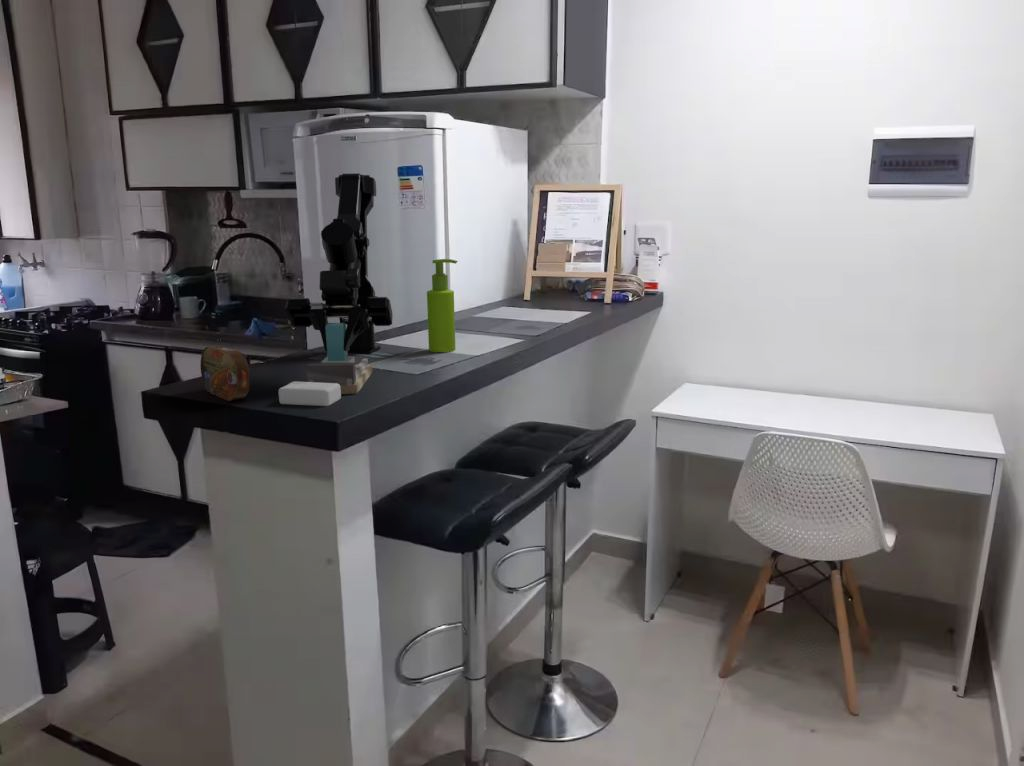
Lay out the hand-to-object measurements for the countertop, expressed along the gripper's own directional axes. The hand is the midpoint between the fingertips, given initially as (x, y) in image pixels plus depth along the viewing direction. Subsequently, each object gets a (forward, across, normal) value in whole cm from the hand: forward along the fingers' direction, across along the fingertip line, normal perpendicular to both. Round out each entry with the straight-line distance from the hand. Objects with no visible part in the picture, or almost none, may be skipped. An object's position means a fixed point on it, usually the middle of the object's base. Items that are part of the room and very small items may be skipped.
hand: (335, 349), depth 136 cm
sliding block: (+3, 0, +5) cm, 5 cm away
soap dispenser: (-18, +17, +28) cm, 37 cm away
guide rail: (+3, 0, +6) cm, 7 cm away
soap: (+12, -2, -2) cm, 13 cm away
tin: (+9, -18, +1) cm, 20 cm away
